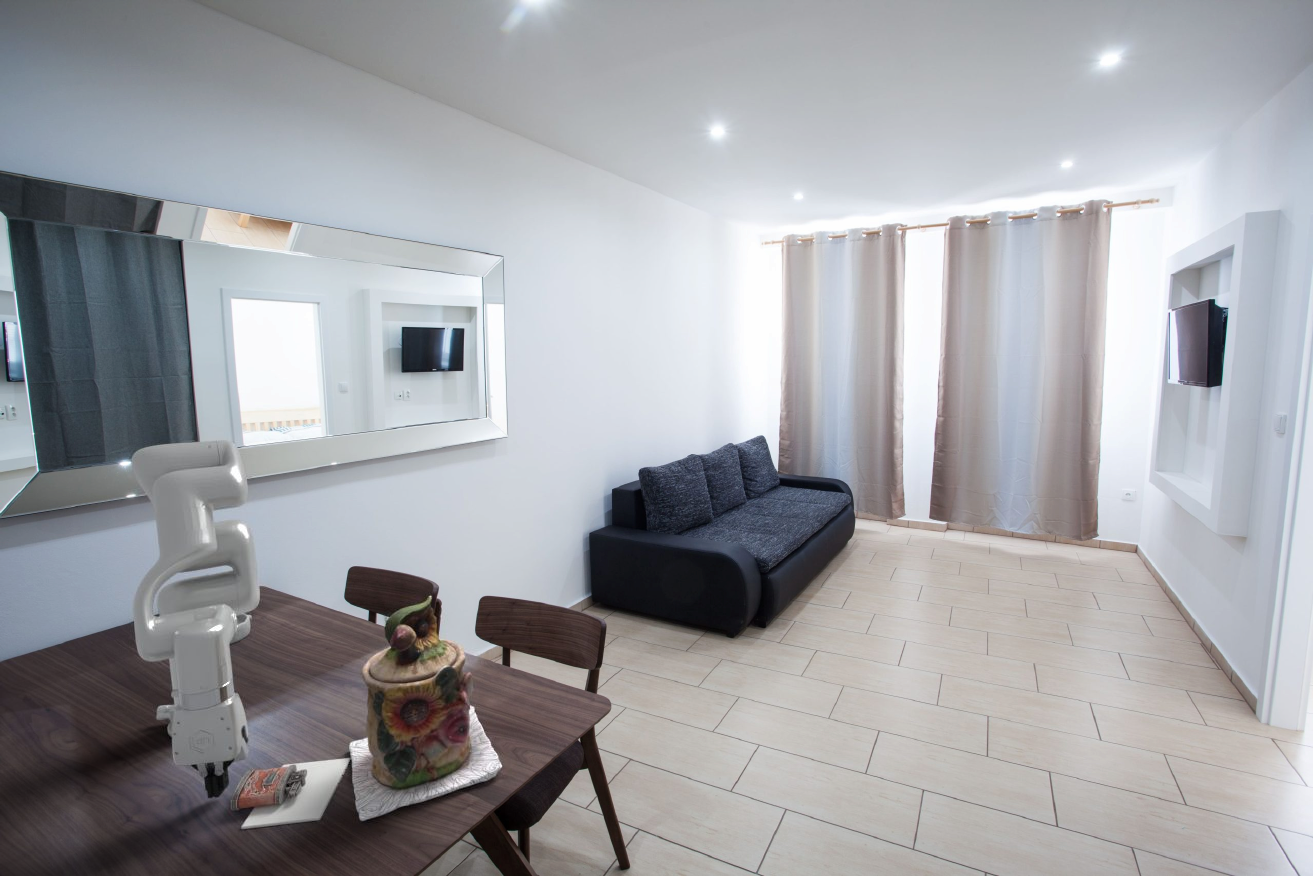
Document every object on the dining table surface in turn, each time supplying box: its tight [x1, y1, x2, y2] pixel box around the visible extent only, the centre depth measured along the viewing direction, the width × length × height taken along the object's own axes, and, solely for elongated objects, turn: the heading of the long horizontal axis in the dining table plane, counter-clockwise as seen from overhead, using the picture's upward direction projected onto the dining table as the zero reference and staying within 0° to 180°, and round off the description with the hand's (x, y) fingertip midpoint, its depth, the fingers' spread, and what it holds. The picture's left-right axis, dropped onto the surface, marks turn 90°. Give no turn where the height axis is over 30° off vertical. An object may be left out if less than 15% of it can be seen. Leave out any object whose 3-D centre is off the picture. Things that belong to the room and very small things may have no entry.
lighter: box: [230, 765, 307, 812], centre depth 110 cm, size 8×3×10 cm
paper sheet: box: [240, 757, 352, 830], centre depth 111 cm, size 12×16×1 cm
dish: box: [229, 613, 253, 645], centre depth 174 cm, size 14×14×5 cm
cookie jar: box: [348, 595, 503, 822], centre depth 117 cm, size 25×25×32 cm
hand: (218, 792), depth 109 cm, fingers closed
